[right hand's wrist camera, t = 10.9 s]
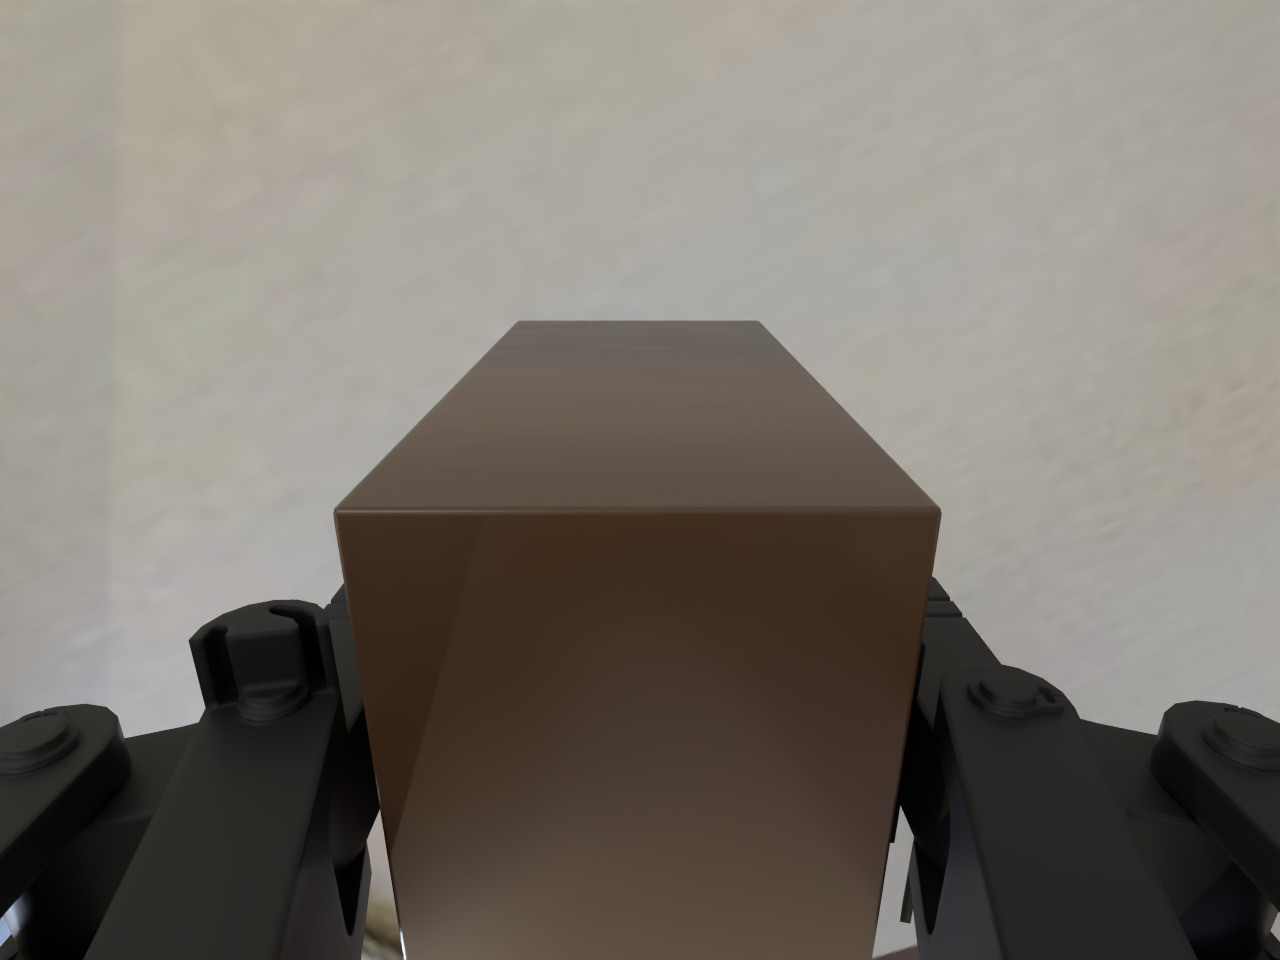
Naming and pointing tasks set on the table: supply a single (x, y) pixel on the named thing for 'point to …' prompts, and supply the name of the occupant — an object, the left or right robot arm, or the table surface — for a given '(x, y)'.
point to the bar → (637, 651)
